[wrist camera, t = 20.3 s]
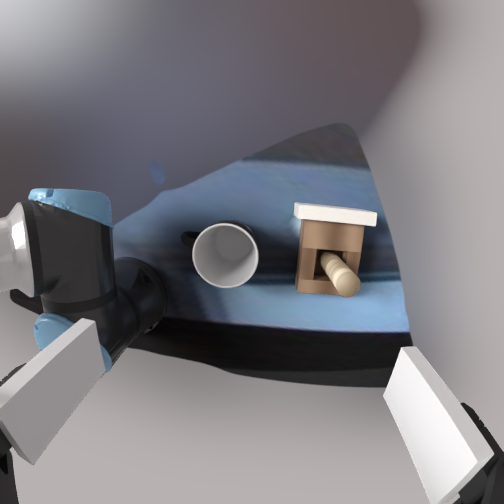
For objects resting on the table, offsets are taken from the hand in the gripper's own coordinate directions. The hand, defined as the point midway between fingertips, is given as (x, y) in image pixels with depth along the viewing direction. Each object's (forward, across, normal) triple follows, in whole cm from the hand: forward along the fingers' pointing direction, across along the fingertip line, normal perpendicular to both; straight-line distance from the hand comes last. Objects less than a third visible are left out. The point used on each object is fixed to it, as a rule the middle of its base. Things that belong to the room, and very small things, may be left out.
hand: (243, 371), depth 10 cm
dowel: (+36, +11, -4) cm, 38 cm away
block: (+37, +11, -3) cm, 38 cm away
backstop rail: (+37, +11, +4) cm, 39 cm away
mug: (+37, -6, -2) cm, 37 cm away
